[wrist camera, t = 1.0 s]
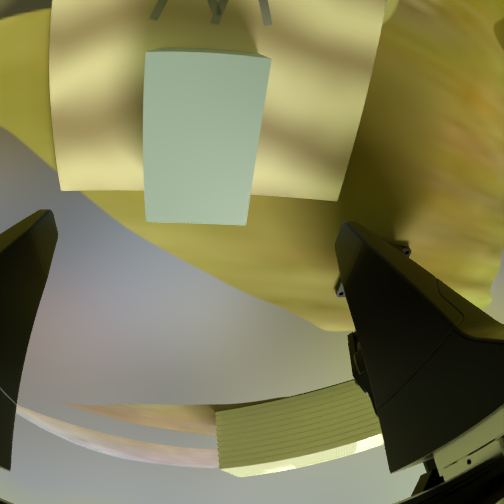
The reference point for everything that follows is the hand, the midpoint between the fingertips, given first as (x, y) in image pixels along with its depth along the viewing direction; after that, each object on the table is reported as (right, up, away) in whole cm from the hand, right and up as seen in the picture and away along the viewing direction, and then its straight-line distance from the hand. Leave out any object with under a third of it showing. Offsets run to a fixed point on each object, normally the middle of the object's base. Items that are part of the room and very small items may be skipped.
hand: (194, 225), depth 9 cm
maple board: (-1, +13, +6) cm, 14 cm away
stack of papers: (+12, -27, +42) cm, 51 cm away
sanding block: (-1, +7, +9) cm, 11 cm away
